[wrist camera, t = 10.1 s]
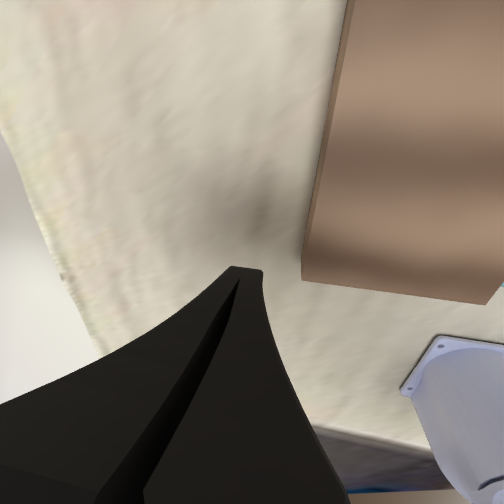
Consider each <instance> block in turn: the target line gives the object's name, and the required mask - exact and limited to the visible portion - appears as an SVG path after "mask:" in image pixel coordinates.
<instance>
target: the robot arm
mask: <svg viewBox="0 0 504 504" xmlns="http://www.w3.org/2000/svg"><path fill="white" fill-rule="evenodd" d="M262 282H263V272H262V271H261V270H259V269H251V268H244V267H236V266H230V267H229V268H228V269H227V270H226V271H225V272H223V273H222V274H221V275H220V276H219V277H218V278H217V279H216V280H215V281H214V282H213V283H212V284H211V285H210V286H208V287H207V288H206V289H205V290H204V291H203V292H201V293H200V294H199V295H198V296H197V297H196V298H194V299H193V300H192V301H191V302H189V303H188V304H187V305H185V306H184V307H183V308H182V309H180V310H179V311H178V312H176V313H175V314H174V315H172V316H171V317H170V318H168V319H167V320H165V321H164V322H162V323H161V324H159V325H158V326H156V327H155V328H153V329H152V330H150V331H149V332H147V333H145V334H144V335H142V336H140V337H138V338H137V339H135V340H133V341H131V342H130V343H128V344H126V345H125V346H123V347H121V348H119V349H118V350H116V351H114V352H112V353H110V354H108V355H106V356H104V357H103V358H101V359H99V360H97V361H95V362H93V363H91V364H89V365H87V366H85V367H83V368H81V369H79V370H77V371H75V372H72V373H70V374H68V375H66V376H64V377H62V378H60V379H57V380H55V381H53V382H51V383H48V384H46V385H44V386H41V387H39V388H37V389H35V390H33V391H30V392H28V393H25V394H23V395H21V396H19V397H16V398H14V399H12V400H9V401H7V402H5V403H2V404H0V504H350V501H349V497H348V494H347V492H346V490H345V488H344V486H343V484H342V482H341V481H340V479H339V477H338V475H337V473H336V471H335V470H334V468H333V466H332V464H331V462H330V461H329V459H328V457H327V455H326V453H325V451H324V449H323V447H322V446H321V444H320V442H319V440H318V438H317V436H316V434H315V432H314V430H313V428H312V426H311V424H310V422H309V420H308V418H307V416H306V414H305V412H304V410H303V408H302V406H301V404H300V401H299V399H298V397H297V395H296V393H295V390H294V388H293V386H292V384H291V381H290V379H289V377H288V375H287V372H286V370H285V367H284V365H283V362H282V360H281V357H280V355H279V352H278V349H277V346H276V343H275V340H274V337H273V334H272V331H271V327H270V324H269V320H268V316H267V312H266V307H265V302H264V297H263V288H262ZM400 392H401V395H403V396H407V397H411V400H412V402H413V405H414V407H415V410H416V412H417V415H418V417H419V420H420V422H421V425H422V427H423V429H424V432H425V434H426V437H427V439H428V442H429V444H430V447H431V449H432V452H433V454H434V457H435V459H436V461H437V463H438V465H439V467H440V469H441V470H442V472H443V474H444V475H445V476H446V478H447V479H448V480H449V482H450V483H451V484H452V485H453V487H454V488H455V489H456V490H457V491H458V492H459V493H460V494H461V495H462V496H463V497H464V498H465V499H467V500H468V501H469V502H471V503H472V504H504V345H500V344H493V343H487V342H480V341H474V340H468V339H461V338H455V337H448V336H438V337H437V338H435V340H434V341H433V343H432V344H431V346H430V347H429V349H428V350H427V352H426V353H425V354H424V356H423V357H422V359H421V360H420V362H419V363H418V365H417V366H416V367H415V369H414V370H413V372H412V373H411V375H410V376H409V378H408V379H407V380H406V382H405V383H404V385H403V386H402V388H401V389H400Z"/></svg>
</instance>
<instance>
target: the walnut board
mask: <svg viewBox="0 0 504 504" xmlns="http://www.w3.org/2000/svg"><path fill="white" fill-rule="evenodd" d="M301 277H302V280H303V281H310V282H318V283H325V284H332V285H340V286H347V287H354V288H362V289H369V290H376V291H384V292H391V293H398V294H406V295H413V296H420V297H428V298H435V299H442V300H450V301H457V302H464V303H472V304H479V305H486V304H487V303H488V301H489V300H490V299H491V297H492V296H493V295H494V293H495V292H496V291H497V290H498V288H499V287H500V286H501V284H502V283H503V282H504V0H347V5H346V11H345V16H344V22H343V28H342V33H341V39H340V44H339V50H338V55H337V61H336V67H335V72H334V78H333V83H332V89H331V95H330V100H329V106H328V111H327V117H326V122H325V128H324V134H323V139H322V145H321V150H320V156H319V162H318V167H317V173H316V178H315V184H314V189H313V195H312V201H311V206H310V212H309V217H308V223H307V229H306V234H305V240H304V245H303V251H302V256H301Z"/></svg>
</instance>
